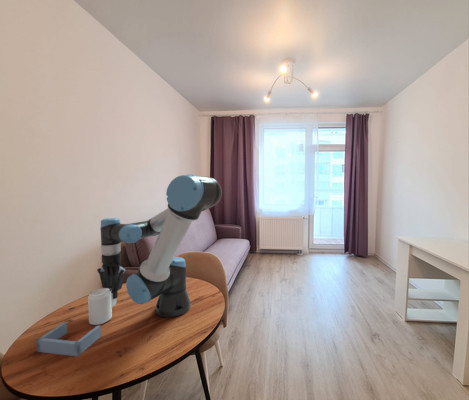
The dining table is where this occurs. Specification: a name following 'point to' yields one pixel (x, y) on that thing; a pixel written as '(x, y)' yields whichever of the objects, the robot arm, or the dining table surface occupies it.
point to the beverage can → (99, 306)
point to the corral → (64, 347)
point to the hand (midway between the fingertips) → (112, 305)
